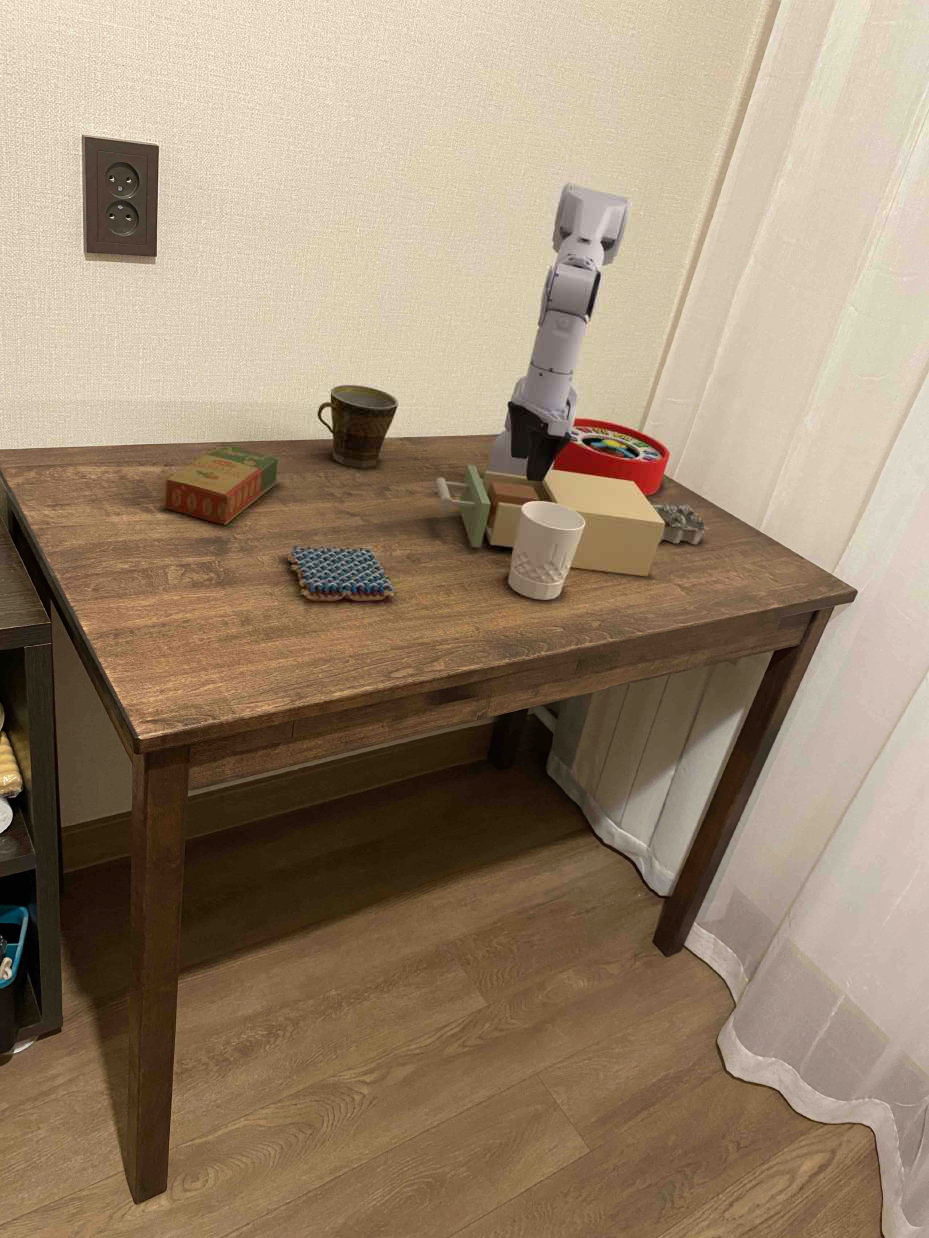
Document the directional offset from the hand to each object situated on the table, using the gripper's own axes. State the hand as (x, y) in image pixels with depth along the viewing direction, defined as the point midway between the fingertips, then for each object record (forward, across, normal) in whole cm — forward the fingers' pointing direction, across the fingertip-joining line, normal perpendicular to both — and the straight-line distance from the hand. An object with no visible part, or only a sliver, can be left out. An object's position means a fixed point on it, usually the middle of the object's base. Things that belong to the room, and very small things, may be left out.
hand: (526, 468), depth 120 cm
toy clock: (+10, -31, +26) cm, 42 cm away
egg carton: (+11, -7, +27) cm, 30 cm away
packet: (+8, -1, -1) cm, 8 cm away
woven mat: (+11, +16, -25) cm, 31 cm away
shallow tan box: (+10, 0, +11) cm, 15 cm away
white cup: (+11, +13, 0) cm, 17 cm away
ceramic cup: (+11, -22, -20) cm, 32 cm away
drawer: (+10, -1, -2) cm, 10 cm away
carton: (+11, -5, -38) cm, 40 cm away
